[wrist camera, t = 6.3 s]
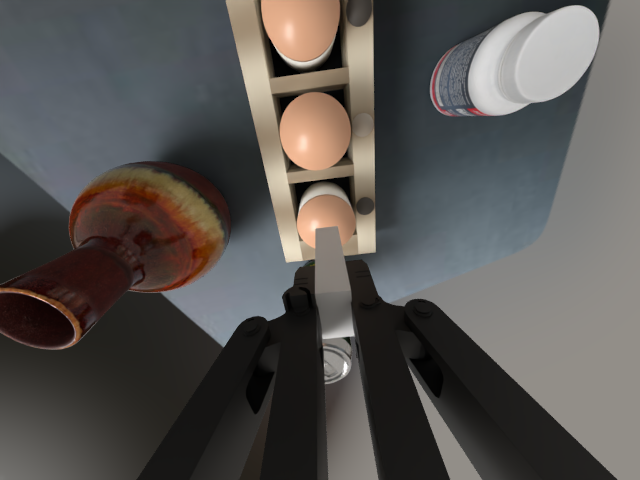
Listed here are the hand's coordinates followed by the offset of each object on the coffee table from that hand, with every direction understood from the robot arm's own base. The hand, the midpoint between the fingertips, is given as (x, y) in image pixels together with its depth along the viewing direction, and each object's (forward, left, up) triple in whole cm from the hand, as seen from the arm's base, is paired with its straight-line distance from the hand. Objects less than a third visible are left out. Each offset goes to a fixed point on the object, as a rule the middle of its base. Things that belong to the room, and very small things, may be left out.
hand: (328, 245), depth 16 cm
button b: (-7, 0, -7) cm, 10 cm away
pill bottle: (-9, +13, -10) cm, 18 cm away
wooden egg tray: (-7, 0, -10) cm, 12 cm away
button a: (-13, 0, -9) cm, 16 cm away
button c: (0, 0, -7) cm, 7 cm away
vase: (-1, -15, -10) cm, 18 cm away
